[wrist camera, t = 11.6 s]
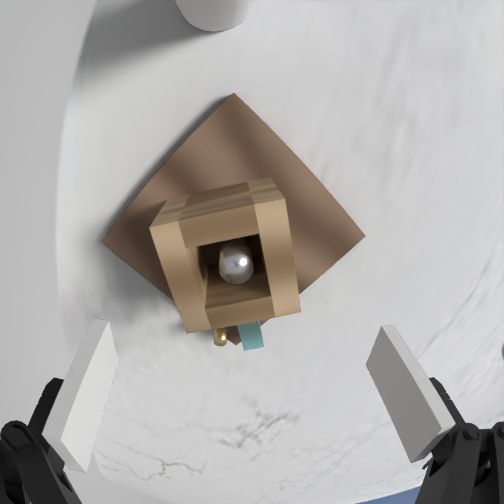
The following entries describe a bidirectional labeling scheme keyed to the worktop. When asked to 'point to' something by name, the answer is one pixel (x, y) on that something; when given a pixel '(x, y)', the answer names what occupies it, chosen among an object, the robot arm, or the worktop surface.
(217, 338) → the dowel
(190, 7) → the mug
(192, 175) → the base board
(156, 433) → the worktop surface
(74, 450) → the robot arm
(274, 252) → the hollow wooden frame
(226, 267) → the post
